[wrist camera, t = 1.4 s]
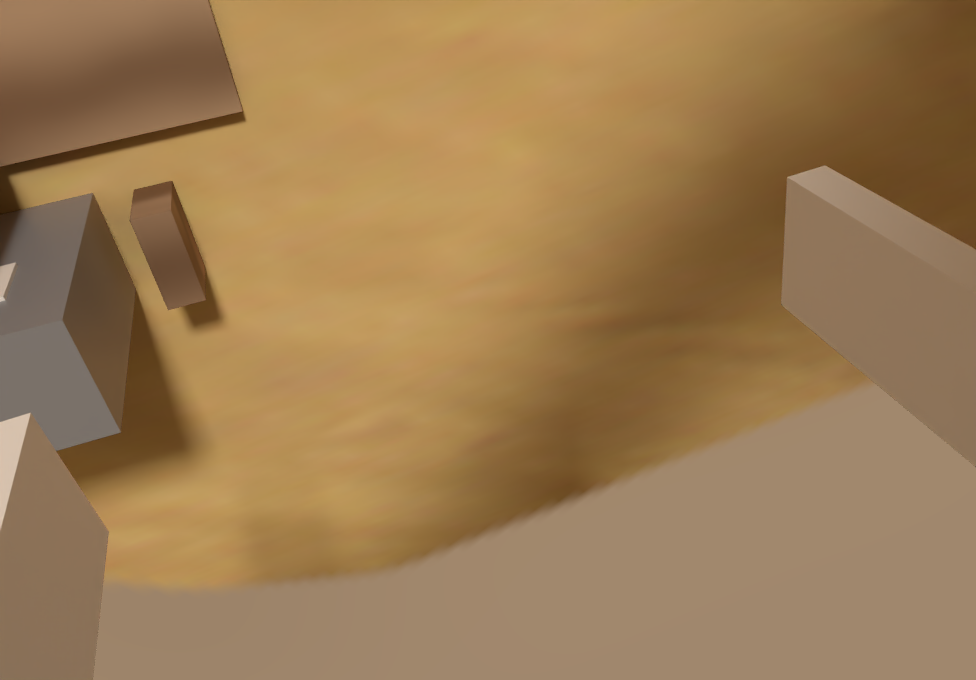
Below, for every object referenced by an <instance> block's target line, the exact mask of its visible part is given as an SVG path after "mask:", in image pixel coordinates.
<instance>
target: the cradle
mask: <svg viewBox="0 0 976 680" xmlns="http://www.w3.org/2000/svg"><path fill="white" fill-rule="evenodd" d="M242 111H243V110H242V106H241V102H240V99H239V96H238V93H237V90H236V86H235V83H234V80H233V77H232V74H231V70H230V67H229V64H228V61H227V58H226V54H225V51H224V48H223V45H222V42H221V39H220V35H219V32H218V29H217V26H216V23H215V19H214V16H213V13H212V10H211V7H210V3H209V0H0V166H5V165H9V164H14V163H18V162H22V161H27V160H31V159H36V158H40V157H44V156H49V155H53V154H58V153H62V152H66V151H71V150H75V149H80V148H84V147H88V146H93V145H97V144H101V143H106V142H110V141H115V140H119V139H123V138H128V137H132V136H137V135H141V134H145V133H150V132H154V131H159V130H163V129H167V128H172V127H176V126H181V125H185V124H189V123H194V122H198V121H203V120H207V119H211V118H216V117H220V116H225V115H229V114H233V113H238V112H242ZM130 222H131V225H132V227H133V229H134V232H135V234H136V236H137V239H138V241H139V243H140V246H141V248H142V250H143V253H144V255H145V257H146V260H147V262H148V264H149V267H150V269H151V271H152V274H153V276H154V278H155V281H156V283H157V285H158V288H159V290H160V292H161V295H162V297H163V299H164V302H165V304H166V306H167V309H168V310H171V309H174V308H178V307H182V306H186V305H190V304H193V303H197V302H201V301H205V300H206V284H205V266H204V263H203V260H202V258H201V255H200V253H199V250H198V247H197V245H196V242H195V239H194V237H193V234H192V232H191V229H190V226H189V224H188V221H187V219H186V216H185V213H184V211H183V208H182V206H181V203H180V200H179V198H178V195H177V193H176V190H175V187H174V185H173V182H172V181H169V182H165V183H161V184H157V185H152V186H148V187H144V188H140V189H136V190H134V193H133V200H132V208H131V215H130Z"/></svg>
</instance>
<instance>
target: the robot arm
mask: <svg viewBox="0 0 976 680" xmlns="http://www.w3.org/2000/svg"><path fill="white" fill-rule="evenodd" d="M781 305H782V306H783V307H784V308H785V309H787V310H788V311H789V312H790V313H791V314H793V315H794V316H795V317H796V318H797V319H799V320H800V321H801V322H802V323H803V324H805V325H806V326H807V327H808V328H809V329H811V330H812V331H813V332H814V333H815V334H817V335H818V336H819V337H820V338H821V339H823V340H824V341H825V342H826V343H827V344H829V345H830V346H831V347H832V348H833V349H835V350H836V351H837V352H838V353H839V354H841V355H842V356H843V357H844V358H845V359H847V360H848V361H849V362H850V363H851V364H853V365H854V366H855V367H856V368H857V369H859V370H860V371H861V372H862V373H863V374H865V375H866V376H867V377H868V378H869V379H871V380H872V381H873V382H874V383H875V384H877V385H878V386H879V387H880V388H881V389H883V390H884V391H885V392H886V393H887V394H889V395H890V396H891V397H892V398H894V399H895V400H896V401H897V402H898V403H899V404H901V405H902V406H903V407H904V408H905V409H907V410H908V411H909V412H910V413H911V414H913V415H914V416H915V417H916V418H917V419H919V420H920V421H921V422H922V423H923V424H925V425H926V426H927V427H928V428H929V429H931V430H932V431H933V432H934V433H936V434H937V435H938V436H939V437H940V438H941V439H943V440H944V441H945V442H946V443H947V444H949V445H950V446H951V447H952V448H953V449H955V450H956V451H957V452H958V453H960V454H961V455H962V456H963V457H964V458H965V459H967V460H968V461H969V462H970V463H971V464H973V465H974V466H975V467H976V249H974V248H972V247H971V246H969V245H967V244H965V243H963V242H962V241H960V240H958V239H956V238H954V237H953V236H951V235H949V234H947V233H945V232H944V231H942V230H940V229H938V228H937V227H935V226H933V225H931V224H929V223H928V222H926V221H924V220H922V219H920V218H919V217H917V216H915V215H913V214H911V213H910V212H908V211H906V210H904V209H902V208H901V207H899V206H897V205H895V204H894V203H892V202H890V201H888V200H886V199H885V198H883V197H881V196H879V195H877V194H876V193H874V192H872V191H870V190H868V189H867V188H865V187H863V186H861V185H859V184H858V183H856V182H854V181H852V180H850V179H849V178H847V177H845V176H843V175H842V174H840V173H838V172H836V171H834V170H833V169H831V168H829V167H827V166H825V165H824V166H821V167H818V168H815V169H812V170H808V171H805V172H802V173H799V174H796V175H792V176H789V177H787V191H786V212H785V233H784V255H783V276H782V297H781ZM108 534H109V531H108V530H107V528H106V527H105V525H104V524H103V522H102V521H101V519H100V517H99V516H98V514H97V513H96V511H95V510H94V508H93V507H92V505H91V504H90V502H89V501H88V499H87V498H86V496H85V495H84V493H83V492H82V490H81V489H80V487H79V485H78V484H77V482H76V481H75V479H74V478H73V476H72V475H71V473H70V472H69V470H68V469H67V467H66V466H65V464H64V463H63V461H62V460H61V458H60V456H59V455H58V453H57V452H56V450H55V449H54V447H53V446H52V444H51V443H50V441H49V440H48V438H47V437H46V435H45V434H44V432H43V431H42V429H41V428H40V426H39V424H38V423H37V421H36V420H35V418H34V417H33V415H32V414H31V413H28V414H25V415H21V416H18V417H15V418H12V419H9V420H5V421H2V422H0V680H93V673H94V665H95V655H96V646H97V637H98V627H99V618H100V608H101V599H102V590H103V580H104V571H105V562H106V552H107V543H108Z"/></svg>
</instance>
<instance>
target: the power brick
mask: <svg viewBox="0 0 976 680" xmlns="http://www.w3.org/2000/svg"><path fill="white" fill-rule="evenodd" d="M135 293H136V288H135V286H134V284H133V281H132V279H131V277H130V275H129V272H128V270H127V268H126V266H125V264H124V261H123V259H122V257H121V255H120V252H119V250H118V248H117V246H116V243H115V241H114V239H113V237H112V235H111V232H110V230H109V228H108V226H107V223H106V221H105V219H104V217H103V214H102V212H101V210H100V208H99V206H98V203H97V201H96V199H95V197H94V194H93V193H90V194H86V195H82V196H78V197H73V198H69V199H65V200H61V201H57V202H52V203H48V204H44V205H40V206H35V207H31V208H27V209H23V210H19V211H14V212H10V213H6V214H2V215H0V422H2V421H5V420H9V419H12V418H15V417H18V416H21V415H25V414H28V413H31V414H32V415H33V417H34V418H35V420H36V421H37V423H38V424H39V426H40V428H41V429H42V431H43V432H44V434H45V435H46V437H47V438H48V440H49V441H50V443H51V444H52V446H53V447H54V449H55V450H56V451H58V450H62V449H65V448H69V447H72V446H76V445H79V444H82V443H86V442H89V441H93V440H96V439H100V438H103V437H107V436H110V435H114V434H117V433H121V427H122V418H123V408H124V399H125V389H126V379H127V370H128V360H129V351H130V341H131V332H132V322H133V312H134V303H135Z"/></svg>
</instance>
